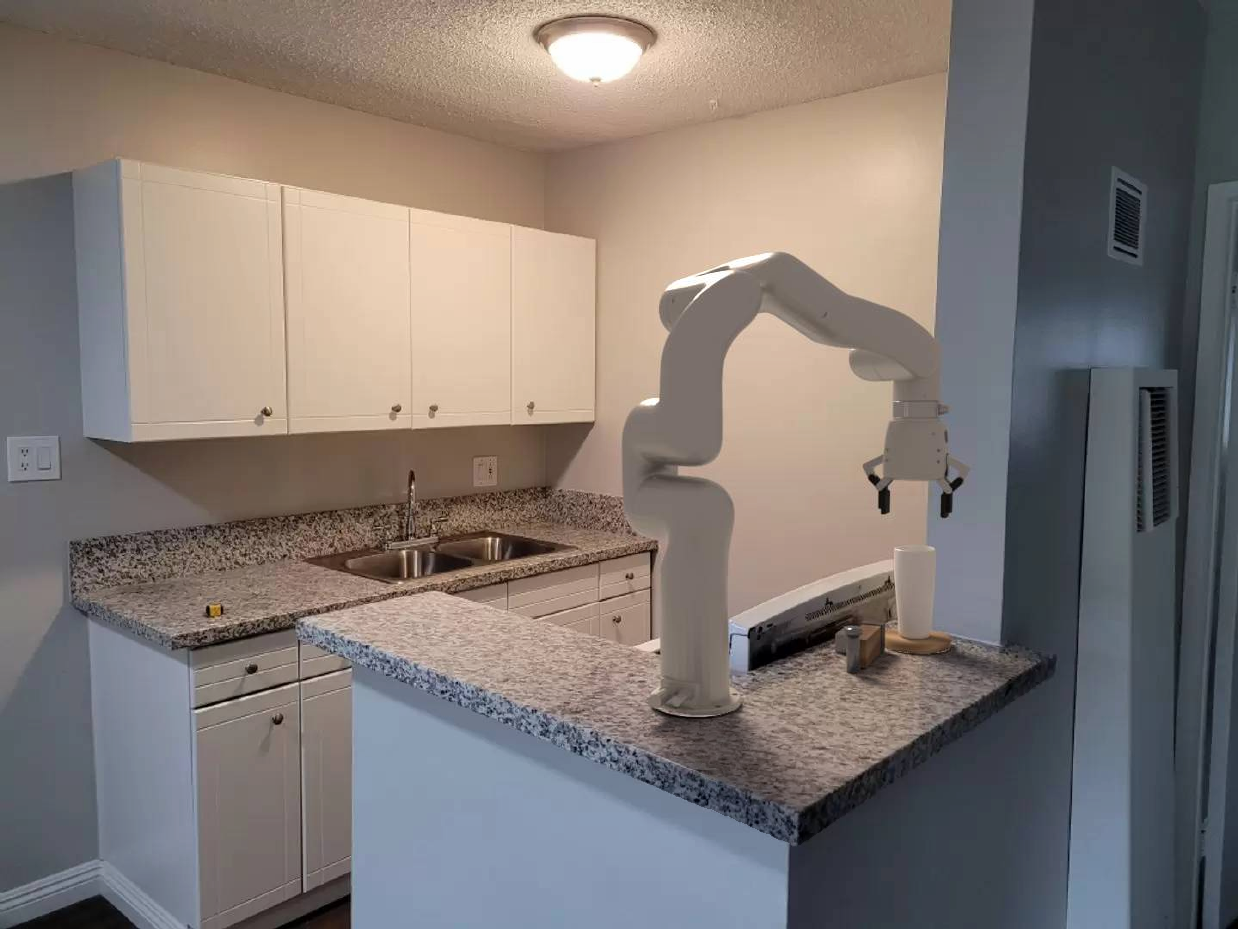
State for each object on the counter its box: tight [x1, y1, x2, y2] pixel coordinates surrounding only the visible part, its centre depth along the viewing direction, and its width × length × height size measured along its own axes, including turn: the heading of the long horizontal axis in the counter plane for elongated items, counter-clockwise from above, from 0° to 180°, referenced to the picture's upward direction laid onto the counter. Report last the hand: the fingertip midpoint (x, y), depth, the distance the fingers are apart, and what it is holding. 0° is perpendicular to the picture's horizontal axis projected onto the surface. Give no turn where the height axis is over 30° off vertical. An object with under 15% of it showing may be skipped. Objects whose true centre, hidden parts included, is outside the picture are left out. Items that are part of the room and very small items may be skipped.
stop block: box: [834, 628, 846, 654], centre depth 149 cm, size 4×2×3 cm, turn 149°
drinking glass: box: [893, 544, 937, 639], centre depth 150 cm, size 7×7×15 cm
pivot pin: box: [843, 625, 863, 674], centre depth 137 cm, size 3×3×7 cm
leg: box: [859, 619, 886, 669], centre depth 143 cm, size 3×11×5 cm, turn 150°
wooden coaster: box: [885, 627, 952, 655], centre depth 151 cm, size 11×11×2 cm
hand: (914, 515), depth 149 cm, fingers open, 9 cm apart
